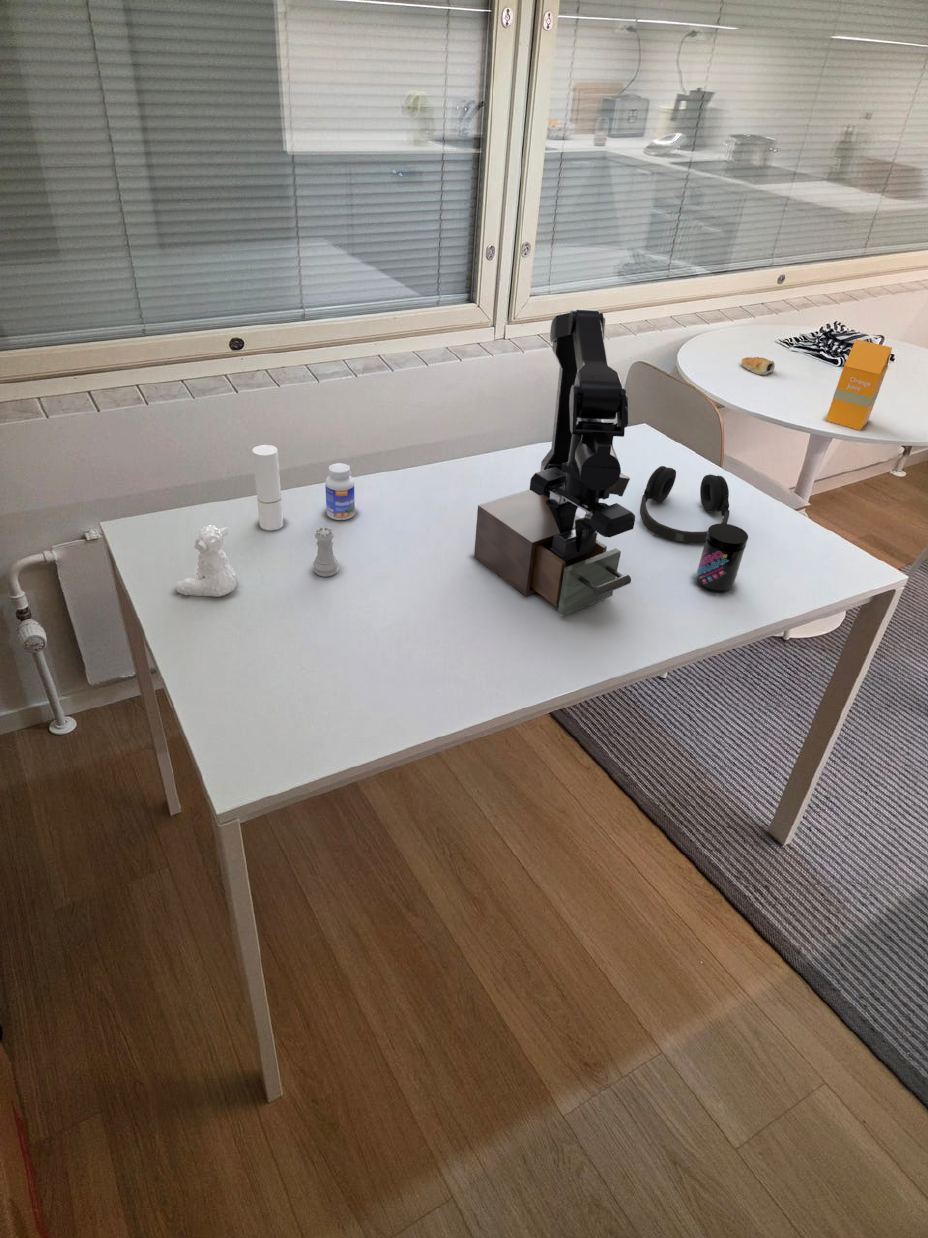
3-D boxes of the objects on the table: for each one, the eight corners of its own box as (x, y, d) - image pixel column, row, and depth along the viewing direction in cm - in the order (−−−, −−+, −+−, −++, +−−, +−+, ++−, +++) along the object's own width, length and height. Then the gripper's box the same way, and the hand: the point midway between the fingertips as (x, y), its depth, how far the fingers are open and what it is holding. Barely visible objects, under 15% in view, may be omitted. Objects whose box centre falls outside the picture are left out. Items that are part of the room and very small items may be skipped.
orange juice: (833, 411, 218) (859, 335, 206) (868, 421, 214) (896, 343, 202) (825, 420, 213) (851, 342, 201) (860, 430, 209) (889, 351, 197)
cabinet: (580, 575, 147) (588, 522, 141) (525, 596, 141) (532, 542, 134) (527, 538, 156) (533, 487, 150) (473, 557, 150) (477, 505, 144)
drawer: (633, 610, 138) (643, 565, 133) (583, 632, 132) (591, 586, 127) (559, 558, 149) (565, 515, 144) (510, 577, 144) (515, 533, 138)
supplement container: (691, 571, 150) (705, 521, 144) (729, 575, 150) (744, 525, 144) (697, 593, 145) (711, 541, 139) (736, 596, 145) (752, 545, 138)
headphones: (735, 470, 167) (730, 530, 153) (726, 500, 172) (720, 561, 158) (651, 456, 170) (638, 513, 156) (644, 486, 175) (632, 544, 162)
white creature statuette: (214, 566, 142) (205, 504, 135) (254, 581, 139) (247, 519, 132) (174, 593, 135) (162, 529, 128) (215, 609, 133) (206, 545, 125)
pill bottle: (337, 523, 156) (335, 477, 151) (321, 512, 160) (318, 466, 154) (360, 515, 159) (359, 469, 154) (344, 504, 163) (343, 458, 157)
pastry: (735, 366, 243) (738, 353, 240) (748, 362, 246) (751, 349, 244) (762, 376, 237) (766, 363, 235) (775, 372, 241) (779, 359, 239)
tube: (278, 531, 153) (271, 456, 144) (256, 528, 153) (248, 453, 145) (286, 520, 156) (281, 446, 147) (265, 517, 157) (258, 443, 148)
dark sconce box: (582, 542, 140) (585, 522, 137) (595, 550, 138) (598, 530, 136) (549, 554, 136) (552, 534, 134) (561, 562, 134) (564, 543, 132)
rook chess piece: (343, 567, 145) (342, 527, 140) (332, 580, 141) (330, 539, 136) (320, 561, 146) (318, 521, 141) (308, 574, 142) (305, 533, 137)
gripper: (668, 471, 125) (648, 559, 134) (584, 427, 137) (571, 510, 146) (616, 489, 120) (599, 579, 129) (532, 441, 131) (522, 526, 141)
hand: (573, 546), depth 136 cm, fingers closed on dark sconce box, 3 cm apart
